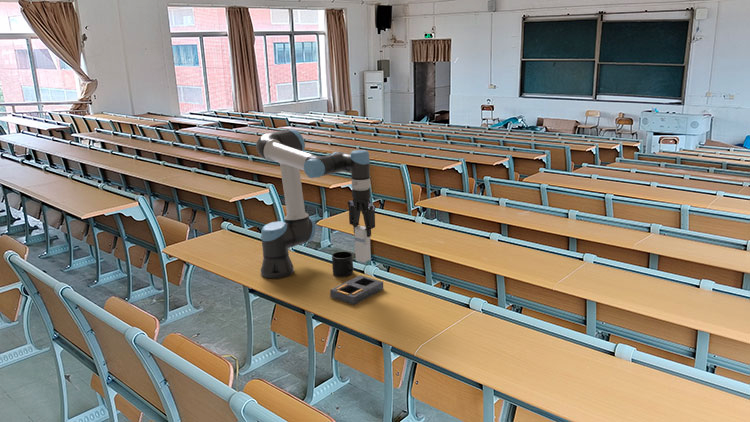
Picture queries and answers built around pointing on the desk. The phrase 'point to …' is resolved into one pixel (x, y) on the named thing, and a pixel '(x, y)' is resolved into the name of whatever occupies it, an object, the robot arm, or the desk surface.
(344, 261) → the mug
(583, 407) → the desk surface
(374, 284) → the jack panel
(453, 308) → the desk surface
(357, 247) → the plug
